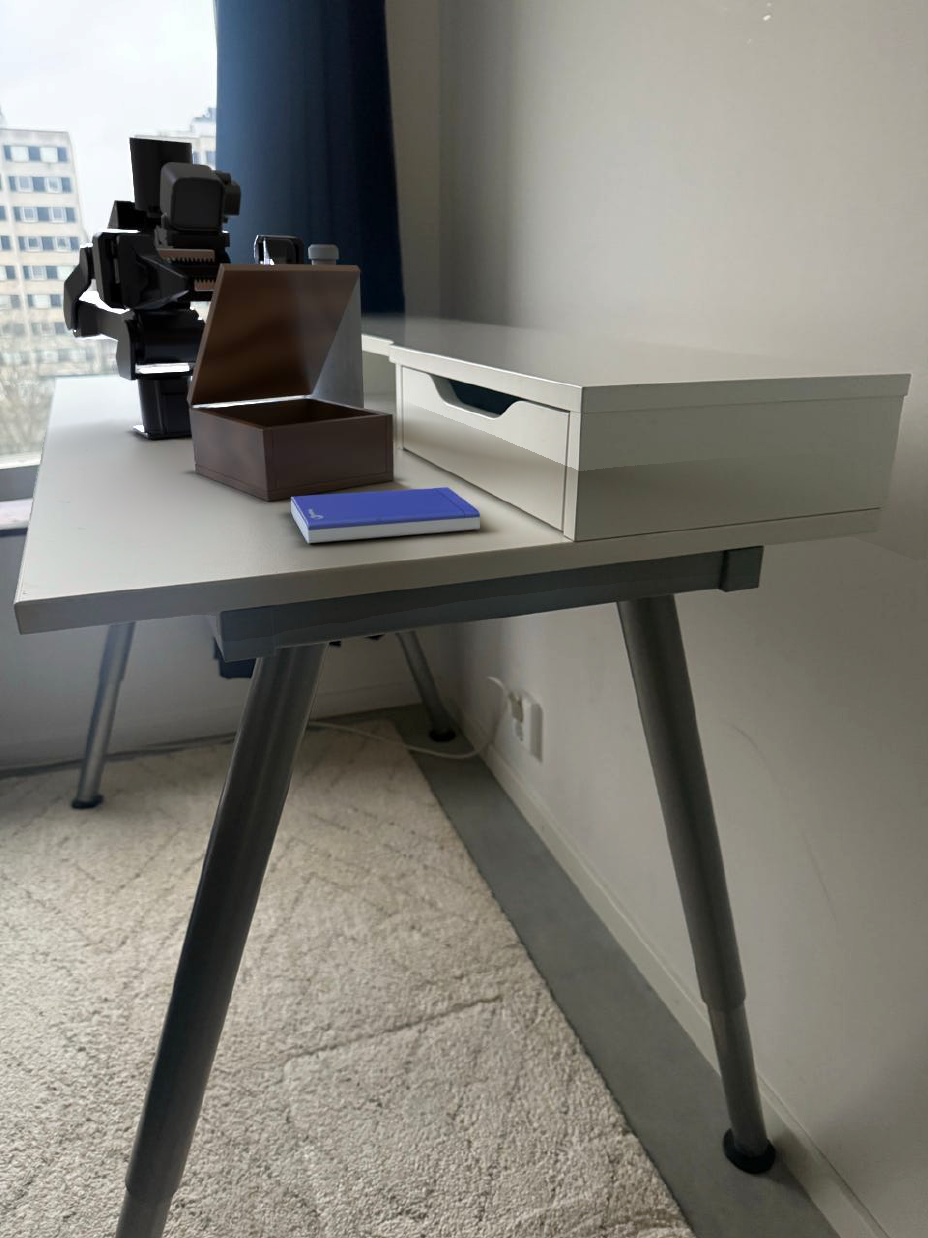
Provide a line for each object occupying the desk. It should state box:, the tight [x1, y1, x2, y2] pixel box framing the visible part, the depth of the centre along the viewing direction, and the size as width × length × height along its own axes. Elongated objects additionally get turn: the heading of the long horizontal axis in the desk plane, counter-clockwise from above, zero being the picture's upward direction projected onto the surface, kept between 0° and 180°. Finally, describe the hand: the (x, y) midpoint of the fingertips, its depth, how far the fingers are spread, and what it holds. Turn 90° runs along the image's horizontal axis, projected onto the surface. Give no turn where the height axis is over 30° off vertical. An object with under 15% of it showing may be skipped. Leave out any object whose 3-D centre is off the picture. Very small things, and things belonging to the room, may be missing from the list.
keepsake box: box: [189, 396, 395, 502], centre depth 77 cm, size 14×13×6 cm
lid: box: [187, 263, 362, 407], centre depth 75 cm, size 14×13×1 cm
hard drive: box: [290, 486, 481, 544], centre depth 64 cm, size 2×8×12 cm
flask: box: [306, 244, 365, 408], centre depth 105 cm, size 15×6×20 cm, turn 19°
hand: (240, 284), depth 72 cm, fingers open, 9 cm apart
